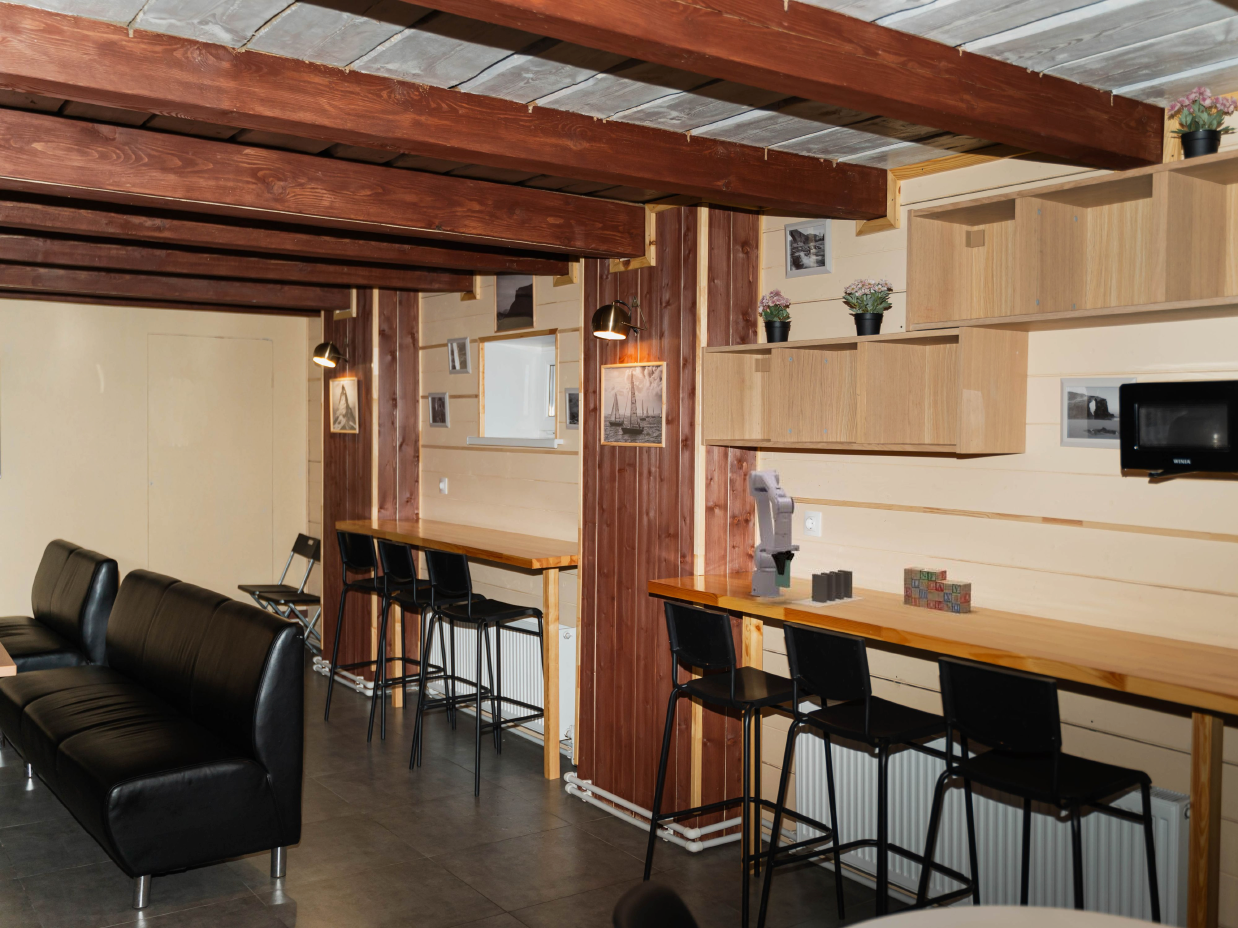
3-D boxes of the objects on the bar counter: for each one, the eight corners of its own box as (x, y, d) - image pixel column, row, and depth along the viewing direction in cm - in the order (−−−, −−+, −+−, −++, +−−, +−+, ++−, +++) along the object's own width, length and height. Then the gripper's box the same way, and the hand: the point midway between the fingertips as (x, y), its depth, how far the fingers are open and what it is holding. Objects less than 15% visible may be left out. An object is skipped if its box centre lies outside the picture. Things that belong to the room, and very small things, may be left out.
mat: (789, 603, 353) (789, 601, 353) (837, 594, 369) (837, 593, 369) (818, 608, 344) (818, 606, 344) (865, 599, 360) (865, 598, 360)
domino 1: (786, 588, 349) (787, 560, 348) (775, 586, 352) (775, 559, 352) (790, 587, 350) (790, 560, 349) (778, 585, 353) (778, 558, 353)
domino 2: (823, 602, 352) (823, 575, 351) (811, 600, 355) (812, 574, 355) (826, 602, 353) (826, 575, 352) (815, 600, 356) (815, 573, 356)
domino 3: (832, 601, 354) (832, 574, 354) (820, 599, 358) (820, 572, 358) (835, 600, 355) (835, 573, 355) (823, 598, 359) (823, 572, 359)
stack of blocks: (971, 611, 338) (971, 573, 337) (960, 613, 334) (960, 575, 333) (914, 602, 354) (914, 565, 354) (903, 604, 351) (903, 567, 350)
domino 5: (849, 598, 360) (849, 571, 360) (837, 596, 364) (837, 570, 364) (852, 597, 361) (852, 571, 361) (840, 595, 365) (840, 569, 365)
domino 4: (840, 599, 357) (841, 573, 357) (829, 597, 361) (829, 571, 361) (843, 599, 358) (844, 572, 358) (832, 597, 362) (832, 570, 362)
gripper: (777, 536, 342) (777, 578, 343) (806, 532, 352) (806, 573, 352) (761, 534, 348) (760, 575, 348) (790, 531, 357) (790, 571, 358)
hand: (782, 574), depth 351 cm, fingers closed on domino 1, 1 cm apart
